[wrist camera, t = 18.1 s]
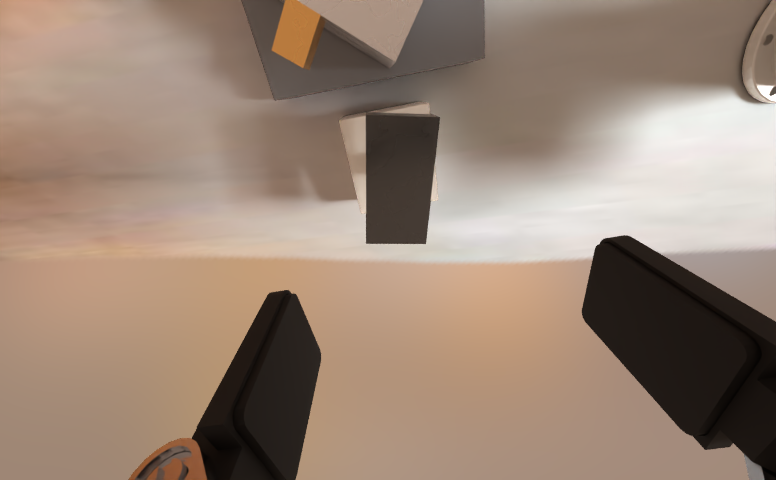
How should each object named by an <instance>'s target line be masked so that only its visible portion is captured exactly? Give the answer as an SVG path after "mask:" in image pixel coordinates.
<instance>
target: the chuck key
mask: <svg viewBox="0 0 776 480" xmlns="http://www.w3.org/2000/svg"><path fill="white" fill-rule="evenodd" d="M439 121H440V117H438V116H436V115H433V114H409V113H379V112H366V244H426V238H427V229H428V220H429V211H430V202H431V193H432V184H433V175H434V166H435V157H436V148H437V139H438V130H439Z"/></svg>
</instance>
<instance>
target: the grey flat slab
mask: <svg viewBox="0 0 776 480" xmlns="http://www.w3.org/2000/svg"><path fill="white" fill-rule="evenodd" d="M242 3H243V6H244V9H245V12H246V15H247V18H248V21H249V24H250V27H251V30H252V33H253V36H254V39H255V42H256V45H257V49H258V52H259V55H260V58H261V61H262V64H263V67H264V70H265V73H266V76H267V79H268V82H269V85H270V88H271V91H272V94H273V97H274V100H283V99H290V98H295V97H300V96H305V95H310V94H315V93H320V92H325V91H330V90H335V89H340V88H345V87H350V86H355V85H360V84H365V83H370V82H375V81H380V80H385V79H390V78H395V77H400V76H405V75H410V74H415V73H420V72H425V71H430V70H435V69H440V68H445V67H450V66H455V65H460V64H465V63H469V62H473V61H477V60H480V59H483V58H485V41H484V0H423V2H422V5H421V7H420V9H419V11H418V13H417V16H416V18H415V20H414V22H413V25H412V27H411V29H410V31H409V33H408V36H407V38H406V40H405V42H404V44H403V47H402V49H401V51H400V53H399V56H398V58H397V60H396V62H395V63H394V65H393V66H392V67H391V68H388V67H387V66H385V65H383V64H382V63H380V62H379V61H377V60H375V59H374V58H372V57H370V56H369V55H367V54H366V53H364V52H362V51H361V50H359V49H357V48H356V47H354V46H353V45H351V44H349V43H348V42H346V41H345V40H343V39H341V38H340V37H338V36H336V35H335V34H333V33H332V32H330V31H328V30H327V29H325V28H323V31H322V34H321V37H320V40H319V43H318V46H317V49H316V52H315V55H314V58H313V61H312V64H311V67H310V70H307V69H304V68H302V67H300V66H298V65H297V64H295V63H293V62H291V61H290V60H288V59H286V58H284V57H282V56H281V55H279V54H277V53H275V52H274V51H272V47H273V43H274V39H275V36H276V32H277V29H278V25H279V21H280V18H281V14H282V10H283V7H284V3H283V2H281V1H280V0H242Z"/></svg>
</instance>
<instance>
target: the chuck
mask: <svg viewBox="0 0 776 480" xmlns="http://www.w3.org/2000/svg"><path fill="white" fill-rule="evenodd" d="M280 1H281V2H283V3H284V7H283V10H282V14H281V18H280V21H279V25H278V29H277V32H276V36H275V39H274V43H273V47H272V51H274V52H275V53H277V54H279V55H281V56H282V57H284V58H286V59H288V60H290V61H291V62H293V63H295V64H297V65H298V66H300V67H302V68H304V69H307V70H310V67H311V64H312V61H313V58H314V55H315V52H316V49H317V46H318V43H319V40H320V37H321V34H322V31H323V28H325V29H327V30H328V31H330V32H332V33H333V34H335V35H336V36H338V37H340V38H341V39H343V40H345V41H346V42H348V43H349V44H351V45H353V46H354V47H356V48H357V49H359V50H361V51H362V52H364V53H366V54H367V55H369V56H370V57H372V58H374V59H375V60H377V61H379V62H380V63H382V64H383V65H385V66H387V67H388V68H391V67H392V66H393V65H394V63H395V62H396V60H397V58H398V56H399V53H400V51H401V49H402V47H403V44H404V42H405V40H406V38H407V36H408V33H409V31H410V29H411V27H412V25H413V22H414V20H415V18H416V16H417V13H418V11H419V9H420V7H421V5H422V2H423V0H280Z"/></svg>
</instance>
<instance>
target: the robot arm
mask: <svg viewBox="0 0 776 480" xmlns="http://www.w3.org/2000/svg"><path fill="white" fill-rule="evenodd" d="M742 75H743V81H744V85H745V87H746V89H747V91H748V93H749V94H750V95H751V96H752V97H753V98H755V99H757V100H759V101H761V102H766V103H776V0H772V1H771V3H770V4H769V5H768V7H767V8H766V10H765V11H764V13H763V14H762V15H761V17H760V19H759V21H758V23H757V24H756V26H755V28H754V30H753V32H752V34H751V36H750V39H749V41H748V44H747V46H746V50H745V54H744V58H743V67H742ZM582 315H583V318H584V320H585V322H586V323H587V324H588V325H589V326H590V328H591V329H592V330H593V331H594V332H595V333H596V334H597V336H598V337H599V338H600V339H601V340H602V341H603V342H604V343H605V345H606V346H607V347H608V348H609V349H610V350H611V351H612V352H613V354H614V355H615V356H616V357H617V358H618V359H619V360H620V361H621V363H622V364H624V366H625V367H626V368H627V369H628V370H629V372H630V373H631V374H632V375H633V376H634V377H635V378H636V379H637V381H638V382H639V383H640V384H641V385H642V386H643V387H644V388H645V389H646V391H647V392H648V393H649V394H650V395H651V396H652V397H653V398H654V400H655V401H656V402H657V403H658V404H659V405H660V406H661V408H662V409H663V410H664V411H665V412H666V413H667V414H668V415H669V417H670V418H671V419H672V420H673V421H674V422H675V423H676V424H677V426H678V427H679V428H680V429H681V430H682V431H684V432H685V433H686V434H689V435H691V436H693V437H694V438H695V439H696V440H697V441H698V442H699V443H700V445H701V446H702V447H703V448H704V449H705V450H707V449H716V448H725V447H730V446H731V445H732V444H733V443H734V444H735V445H736V446H737V447H738V448H739V449H740V450H741V451H742V452H743V453H744V457H745V462H746V467H747V471H748V476H749V480H776V322H775V321H773V320H772V319H770V318H768V317H767V316H765V315H763V314H762V313H760V312H758V311H756V310H755V309H753V308H751V307H750V306H748V305H746V304H745V303H743V302H741V301H739V300H738V299H736V298H734V297H732V296H731V295H729V294H727V293H726V292H724V291H722V290H721V289H719V288H717V287H716V286H714V285H712V284H710V283H709V282H707V281H705V280H704V279H702V278H700V277H698V276H697V275H695V274H693V273H692V272H690V271H688V270H687V269H685V268H683V267H681V266H680V265H678V264H676V263H675V262H673V261H671V260H670V259H668V258H666V257H664V256H663V255H661V254H659V253H658V252H656V251H654V250H652V249H651V248H649V247H647V246H646V245H644V244H642V243H641V242H639V241H637V240H635V239H634V238H632V237H630V236H625V235H624V236H617V237H611V238H605V239H603V240H602V241H601V242H600V244H599V245H597V246H596V248H595V252H594V256H593V261H592V266H591V270H590V275H589V280H588V284H587V289H586V294H585V298H584V303H583V308H582ZM320 362H321V352H320V349H319V346H318V344H317V342H316V339H315V337H314V335H313V332H312V330H311V328H310V325H309V323H308V320H307V318H306V316H305V314H304V311H303V309H302V307H301V304H300V302H299V299H298V297H297V295H296V294H291V292H290V291H289V290H284V291H278V292H272V293H269V294H268V295H267V298H266V299H265V301H264V303H263V305H262V307H261V308H260V310H259V312H258V314H257V316H256V318H255V319H254V322H253V323H252V325H251V327H250V329H249V331H248V332H247V335H246V336H245V338H244V340H243V342H242V344H241V346H240V347H239V349H238V351H237V353H236V355H235V357H234V359H233V360H232V362H231V364H230V366H229V368H228V370H227V372H226V374H225V376H224V378H223V379H222V381H221V383H220V385H219V387H218V389H217V390H216V392H215V394H214V396H213V398H212V400H211V402H210V403H209V406H208V407H207V409H206V411H205V413H204V415H203V417H202V418H201V420H200V422H199V424H198V426H197V429H196V431H195V433H194V435H193V437H192V439H191V438H180V439H177V440H174V441H171V442H169V443H167V444H166V445H164V446H162V447H161V448H159V449H157V450H156V451H155V452H154V453H152V454H151V455H150V456H149V457H148V458H146V459H145V460H144V461H143V462H142V464H141V465H140V466H139V467H138V468H137V469H136V470H135V471H134V472H133V474H132V475H131V477H130V478H129V480H295V479H296V476H297V472H298V467H299V462H300V457H301V452H302V448H303V443H304V438H305V434H306V429H307V424H308V419H309V415H310V409H311V405H312V400H313V396H314V391H315V386H316V381H317V376H318V371H319V367H320Z"/></svg>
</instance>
